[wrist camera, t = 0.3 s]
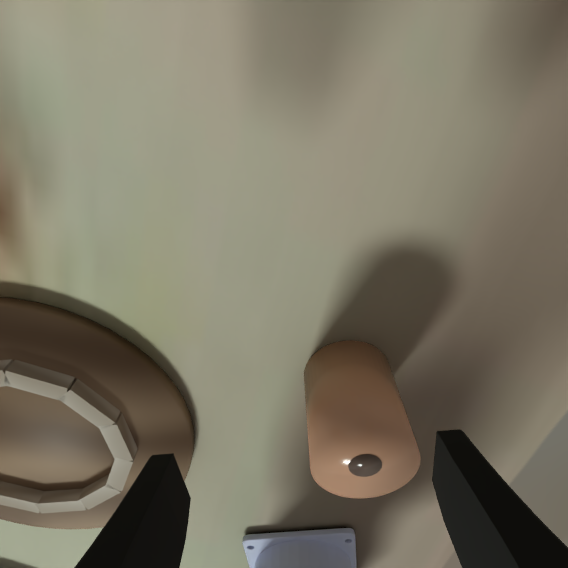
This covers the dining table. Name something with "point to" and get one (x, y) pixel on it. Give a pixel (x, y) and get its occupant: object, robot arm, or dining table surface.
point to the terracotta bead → (357, 422)
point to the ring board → (78, 417)
